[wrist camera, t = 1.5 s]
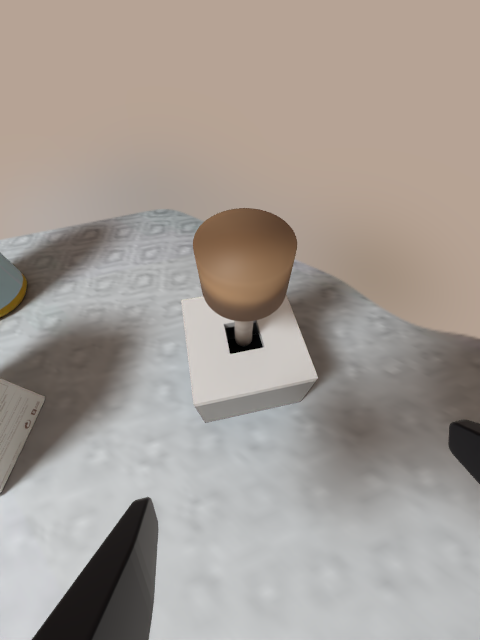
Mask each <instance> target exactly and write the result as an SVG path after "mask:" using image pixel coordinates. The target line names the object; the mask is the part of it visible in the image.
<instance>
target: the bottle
mask: <svg viewBox="0 0 480 640" xmlns="http://www.w3.org/2000/svg"><path fill="white" fill-rule="evenodd" d="M26 287H27V281H26V278H25V276H24V275H23V274H22V273H21V272H20V271H19V270H18V269H17V268H16V267H15V266H14V265H13V264H12V263H11V262H10V261H9V260H8V259H6V258H5V257H4V256H3V255H2V254H1V253H0V317H3V316H5V315H7V314H8V313H9V312H11V311H12V310H14V309H15V308H16V307H17V306H18V305H19V304H20V303H21V302H22V300H23V298H24V296H25V294H26Z"/></svg>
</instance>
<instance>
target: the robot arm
mask: <svg viewBox="0 0 480 640" xmlns="http://www.w3.org/2000/svg"><path fill="white" fill-rule="evenodd" d="M449 448H450V451H451V452H452V454H453V455H454V456H455V457H456V458H457V459H458V460H459V462H460V463H461V464H462V465H463V466H464V467H465V468H466V469H467V471H468V472H469V473H470V474H471V475H472V476H473V477H474V478H475V479H476V481H477V482H478V483H479V484H480V424H479V423H475V422H472V421H469V420H459V421H455V422H452V423H451V424H450V426H449ZM157 542H158V520H157V517H156V513H155V510H154V506H153V503H152V500H151V498H149V497H146V498H142V499H138V500H135V501H134V502H133V503H132V504H131V505H130V507H129V508H128V509H127V511H126V512H125V514H124V515H123V516H122V518H121V519H120V520H119V522H118V523H117V524H116V526H115V527H114V529H113V530H112V531H111V533H110V534H109V535H108V537H107V538H106V539H105V541H104V542H103V543H102V545H101V546H100V548H99V549H98V550H97V552H96V553H95V554H94V556H93V557H92V558H91V560H90V561H89V563H88V564H87V565H86V567H85V568H84V569H83V571H82V572H81V573H80V575H79V576H78V577H77V579H76V580H75V582H74V583H73V584H72V586H71V587H70V588H69V590H68V591H67V592H66V594H65V595H64V597H63V598H62V599H61V601H60V602H59V603H58V605H57V606H56V607H55V609H54V610H53V611H52V613H51V614H50V616H49V617H48V618H47V620H46V621H45V622H44V624H43V625H42V626H41V628H40V629H39V631H38V632H37V633H36V635H35V636H34V637H33V639H32V640H149V633H150V626H151V620H152V612H153V603H154V590H155V574H156V558H157Z"/></svg>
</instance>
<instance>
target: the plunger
mask: <svg viewBox="0 0 480 640" xmlns="http://www.w3.org/2000/svg"><path fill="white" fill-rule="evenodd" d="M193 249H194V254H195V259H196V264H197V269H198V273H199V278H200V283H201V288H202V293H203V297H204V299H205V301H206V303H207V304H208V306H209V307H210V308H211V309H212V310H213V311H214V312H215V313H217V314H218V315H220V316H222V317H224V318H227V319H230V320H234V323H235V341H236V343H237V344H238V345H240V346H247V345H249V344H250V343H251V341H252V331H253V321H255V320H260V319H262V318H265V317H267V316H269V315H271V314H272V313H274V312H275V311H276V310H277V309H278V308H279V307H280V306H281V304H282V303H283V301H284V299H285V296H286V292H287V288H288V284H289V280H290V275H291V271H292V267H293V263H294V259H295V254H296V250H297V239H296V236H295V233H294V232H293V230H292V228H291V227H290V226H289V225H288V224H287V223H286V222H285V221H284V220H282V219H281V218H280V217H278V216H276V215H274V214H272V213H269V212H266V211H263V210H258V209H250V208H239V209H232V210H227V211H223V212H221V213H218V214H216V215H214V216H212V217H210V218H209V219H207V220H206V221H205V222H204V223H203V224H202V225H201V226H200V227H199V228H198V230H197V231H196V233H195V236H194V239H193Z"/></svg>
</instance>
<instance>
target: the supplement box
mask: <svg viewBox="0 0 480 640" xmlns="http://www.w3.org/2000/svg"><path fill="white" fill-rule="evenodd" d="M44 401H45V397H44V396H42V395H40V394H37V393H35V392H32V391H30V390H28V389H25V388H23V387H20V386H18V385H15V384H13V383H11V382H8V381H6V380H4V379H1V378H0V493H1V492H2V490H3V488H4V485H5V483H6V482H7V480H8V477H9V475H10V473H11V471H12V469H13V467H14V465H15V463H16V461H17V458H18V456H19V454H20V452H21V450H22V448H23V446H24V444H25V442H26V439H27V437H28V435H29V433H30V431H31V429H32V427H33V425H34V423H35V420H36V418H37V416H38V414H39V412H40V409H41V407H42V405H43V403H44Z"/></svg>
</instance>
